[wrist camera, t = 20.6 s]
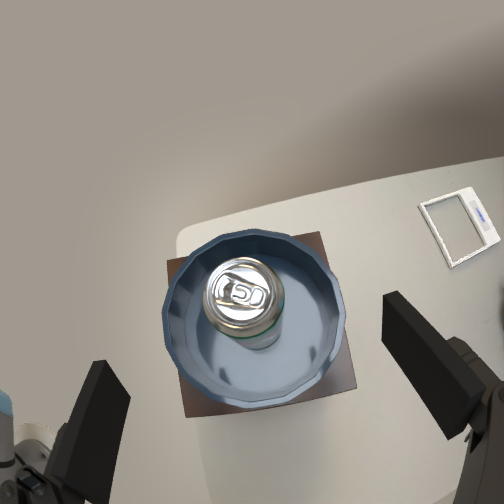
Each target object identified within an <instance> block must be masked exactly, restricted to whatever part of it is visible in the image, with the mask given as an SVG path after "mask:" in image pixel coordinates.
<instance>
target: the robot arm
mask: <svg viewBox="0 0 504 504" xmlns="http://www.w3.org/2000/svg"><path fill="white" fill-rule="evenodd" d="M381 341H382V342H383V344H384V345H385V346H386V348H387V349H388V351H389V352H390V353H391V355H392V356H393V358H394V359H395V361H396V362H397V363H398V365H399V366H400V368H401V369H402V371H403V372H404V374H405V375H406V377H407V378H408V379H409V381H410V382H411V384H412V385H413V387H414V388H415V390H416V391H417V393H418V394H419V396H420V397H421V399H422V400H423V402H424V403H425V405H426V406H427V408H428V410H429V411H430V413H431V414H432V416H433V417H434V419H435V420H436V422H437V424H438V425H439V427H440V428H441V430H442V431H443V433H444V435H445V436H446V438H447V440H450V439H451V438H453V437H455V436H456V435H458V434H460V433H461V432H463V431H464V429H465V428H466V426H467V424H468V423H469V425H470V426H471V427H472V429H471V430H470V432H469V433H468V435H467V436H466V438H465V441H464V442H467V441H468V439H469V442H468V447H467V452H466V457H465V461H464V466H463V470H462V474H461V477H460V481H459V485H458V488H457V492H456V495H455V498H454V501H453V504H504V381H501V380H500V379H499V378H498V377H497V376H496V375H495V373H494V372H493V371H492V370H491V369H490V368H489V367H488V366H487V365H486V364H485V362H484V361H483V360H482V359H481V358H480V357H478V355H477V354H476V353H475V352H474V351H472V349H471V348H470V347H469V345H468V344H467V343H466V342H465V341H463V340H461V339H459V338H457V337H455V336H454V337H452V338H450V339H448V340H445V339H444V338H443V337H442V336H441V335H440V334H439V333H438V332H437V330H436V329H435V328H434V327H433V326H432V325H431V324H430V323H429V322H428V321H427V320H426V319H425V318H424V317H423V316H422V315H421V314H420V313H419V312H418V311H417V310H416V309H415V308H414V307H413V306H412V305H411V304H410V303H409V302H408V301H407V300H406V299H405V298H404V297H403V296H402V295H401V294H400V293H399V292H398V291H394V292H391V293H388V294H385V295H383V315H382V339H381ZM130 399H131V397H130V395H129V394H128V393H127V391H126V390H125V388H124V387H123V385H122V384H121V383H120V381H119V379H118V378H117V377H116V375H115V373H114V372H113V370H112V369H111V367H110V366H109V364H108V363H107V361H106V360H100V361H93V364H92V366H91V368H90V370H89V372H88V375H87V377H86V379H85V381H84V384H83V386H82V389H81V391H80V394H79V396H78V398H77V401H76V403H75V406H74V408H73V411H72V413H71V416H70V419H69V421H68V423H64V424H63V426H62V427H61V428H60V429H59V431H58V433H57V436H56V438H55V442H54V444H53V447H52V448H53V449H51V450H50V449H49V448H48V447H47V446H46V445H44V444H43V443H42V442H40V441H38V440H35V439H27V440H23V441H21V442H19V443H18V444H17V445H15V446H14V434H13V414H12V402H11V399H10V397H9V396H8V395H7V394H6V393H4V392H3V391H1V390H0V504H84V503H85V499H86V500H87V501H89V502H90V503H92V504H109V499H110V492H111V487H112V481H113V476H114V470H115V465H116V460H117V455H118V451H119V446H120V441H121V436H122V432H123V428H124V423H125V419H126V415H127V411H128V407H129V403H130Z"/></svg>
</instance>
